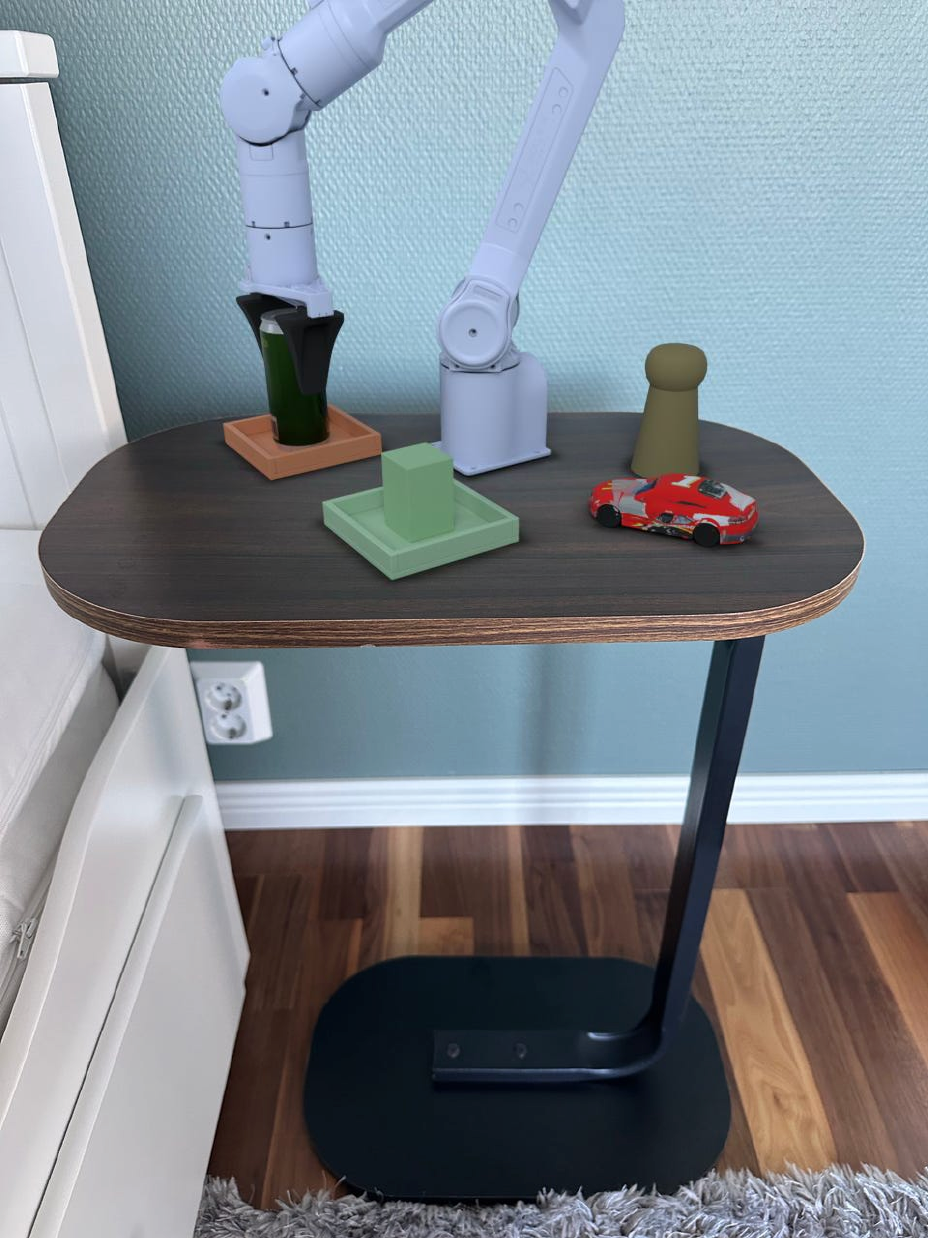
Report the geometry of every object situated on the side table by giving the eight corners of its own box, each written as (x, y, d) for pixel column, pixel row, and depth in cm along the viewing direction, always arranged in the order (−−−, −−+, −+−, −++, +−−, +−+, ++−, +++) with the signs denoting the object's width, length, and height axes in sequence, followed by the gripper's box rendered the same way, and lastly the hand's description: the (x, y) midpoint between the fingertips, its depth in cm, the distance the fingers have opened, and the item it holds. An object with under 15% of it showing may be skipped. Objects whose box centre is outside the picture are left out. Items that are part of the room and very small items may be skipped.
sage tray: (442, 492, 81) (442, 470, 80) (519, 541, 73) (519, 517, 72) (324, 524, 76) (321, 501, 75) (392, 580, 68) (390, 555, 67)
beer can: (288, 458, 87) (273, 325, 80) (264, 441, 91) (248, 312, 84) (340, 446, 89) (329, 316, 83) (315, 429, 93) (303, 304, 87)
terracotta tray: (330, 420, 97) (328, 401, 96) (382, 454, 89) (381, 433, 88) (225, 442, 92) (222, 423, 91) (271, 480, 84) (268, 459, 83)
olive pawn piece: (683, 487, 81) (699, 359, 76) (619, 472, 84) (629, 349, 79) (709, 464, 86) (725, 342, 80) (647, 451, 89) (658, 332, 83)
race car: (577, 523, 76) (580, 476, 74) (602, 498, 80) (605, 453, 78) (742, 557, 70) (750, 507, 68) (760, 529, 74) (768, 481, 72)
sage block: (428, 512, 76) (426, 441, 73) (454, 530, 73) (453, 457, 70) (384, 524, 75) (380, 452, 71) (410, 543, 72) (406, 469, 69)
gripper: (204, 217, 83) (225, 370, 90) (268, 240, 73) (287, 411, 80) (278, 209, 86) (294, 358, 93) (350, 231, 76) (362, 396, 83)
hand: (296, 382), depth 87 cm, fingers open, 7 cm apart
